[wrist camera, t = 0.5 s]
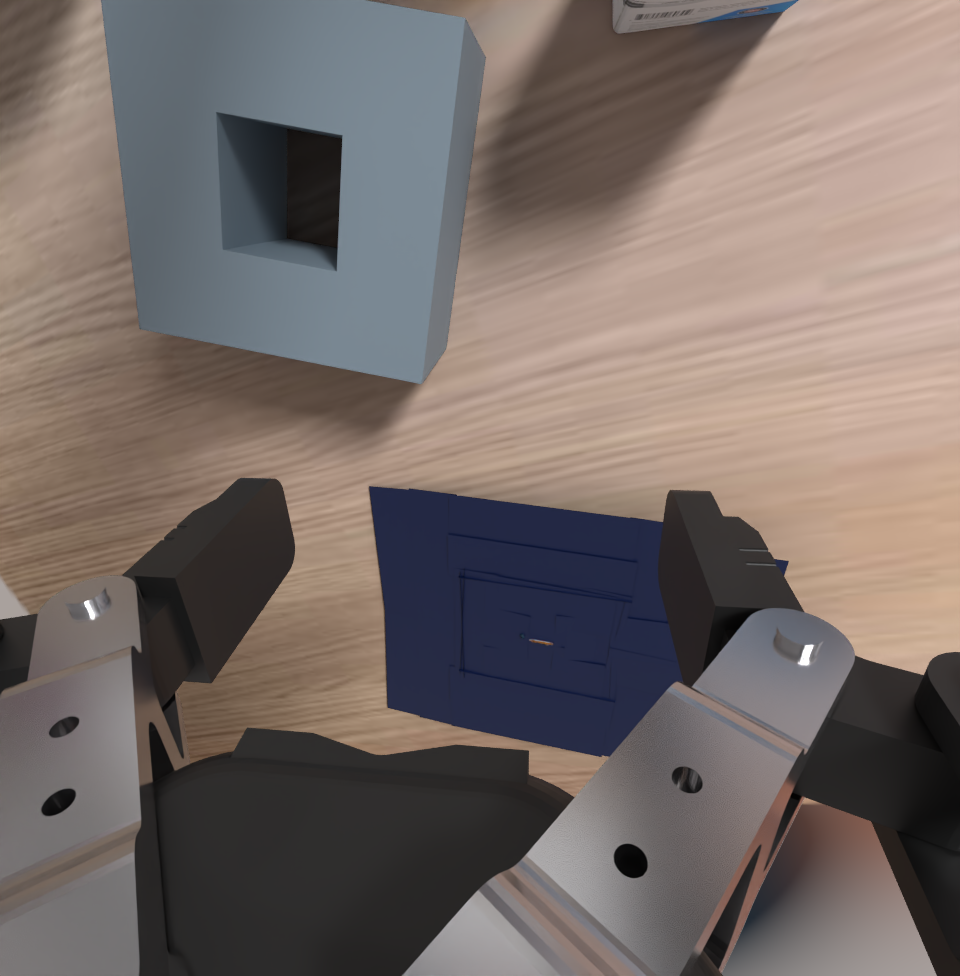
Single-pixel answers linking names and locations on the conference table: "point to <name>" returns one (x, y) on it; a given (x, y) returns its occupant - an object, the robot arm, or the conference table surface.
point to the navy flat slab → (522, 617)
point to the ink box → (686, 12)
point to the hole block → (263, 173)
